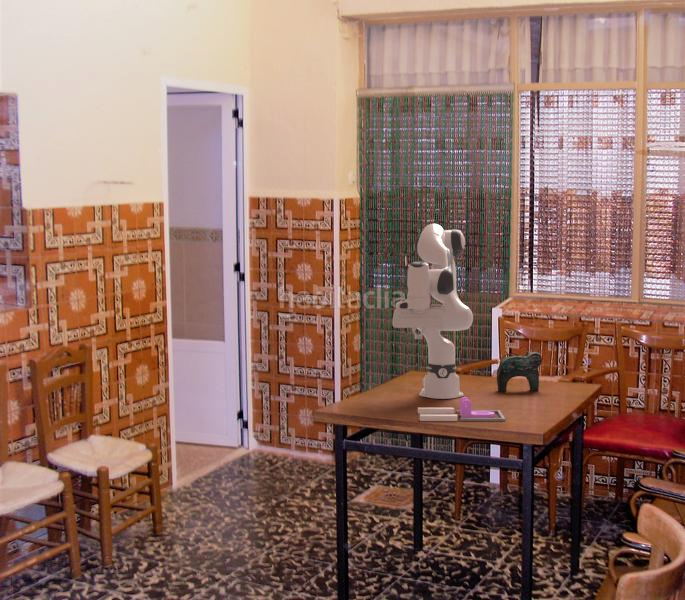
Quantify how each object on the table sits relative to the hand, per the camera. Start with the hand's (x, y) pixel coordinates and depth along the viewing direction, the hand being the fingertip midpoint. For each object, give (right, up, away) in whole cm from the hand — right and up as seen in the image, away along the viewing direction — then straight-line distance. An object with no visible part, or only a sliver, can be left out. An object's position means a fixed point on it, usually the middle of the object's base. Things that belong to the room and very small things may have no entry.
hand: (418, 339), depth 381 cm
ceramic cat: (+48, -25, +47) cm, 71 cm away
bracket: (+23, -30, -3) cm, 38 cm away
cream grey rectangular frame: (+16, -30, -4) cm, 34 cm away
